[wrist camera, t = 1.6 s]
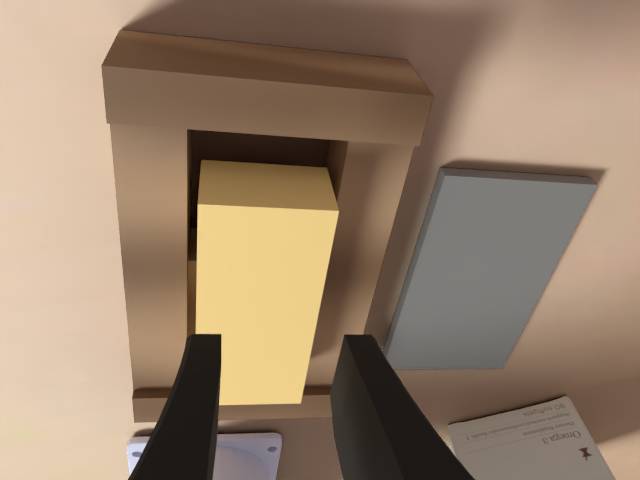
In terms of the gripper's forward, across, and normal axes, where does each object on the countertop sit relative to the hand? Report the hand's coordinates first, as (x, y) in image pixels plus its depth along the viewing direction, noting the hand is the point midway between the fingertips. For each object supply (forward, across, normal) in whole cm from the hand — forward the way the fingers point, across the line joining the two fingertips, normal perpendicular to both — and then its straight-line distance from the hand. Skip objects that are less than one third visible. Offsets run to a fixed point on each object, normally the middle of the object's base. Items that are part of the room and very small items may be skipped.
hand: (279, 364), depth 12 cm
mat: (+9, -10, +5) cm, 15 cm away
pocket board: (+9, 0, +3) cm, 10 cm away
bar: (+7, 0, +4) cm, 8 cm away
